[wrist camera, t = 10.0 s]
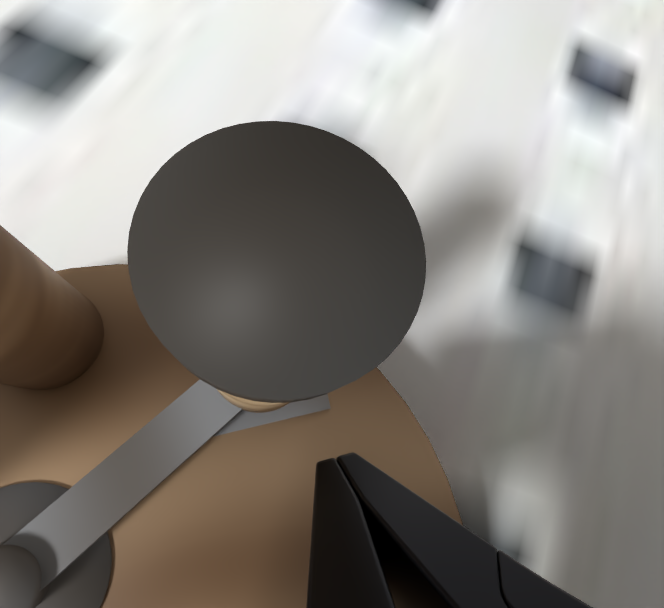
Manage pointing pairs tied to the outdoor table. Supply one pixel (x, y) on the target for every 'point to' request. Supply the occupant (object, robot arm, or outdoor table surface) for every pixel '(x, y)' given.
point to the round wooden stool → (195, 473)
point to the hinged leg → (242, 308)
